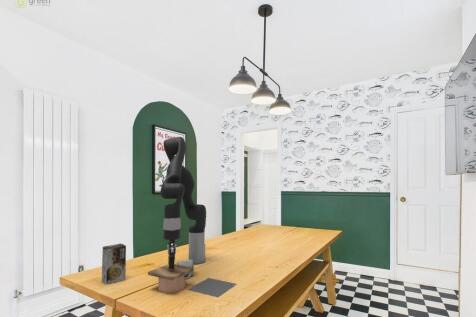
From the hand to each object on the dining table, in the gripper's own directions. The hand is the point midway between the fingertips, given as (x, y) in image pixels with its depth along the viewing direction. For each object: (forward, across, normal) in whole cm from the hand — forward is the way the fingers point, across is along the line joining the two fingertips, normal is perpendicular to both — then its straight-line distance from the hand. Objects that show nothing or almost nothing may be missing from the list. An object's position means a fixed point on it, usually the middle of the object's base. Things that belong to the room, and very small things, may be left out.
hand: (171, 267), depth 119 cm
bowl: (+9, 0, 0) cm, 9 cm away
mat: (+9, +5, +18) cm, 20 cm away
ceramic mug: (+9, -12, +7) cm, 17 cm away
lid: (+2, 0, 0) cm, 2 cm away
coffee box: (+9, -18, -26) cm, 33 cm away
